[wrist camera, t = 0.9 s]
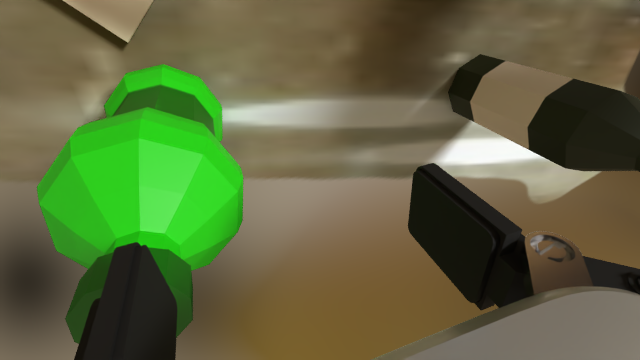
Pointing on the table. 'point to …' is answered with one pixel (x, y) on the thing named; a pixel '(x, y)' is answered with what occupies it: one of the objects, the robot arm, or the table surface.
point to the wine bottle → (551, 114)
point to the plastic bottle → (145, 186)
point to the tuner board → (115, 14)
